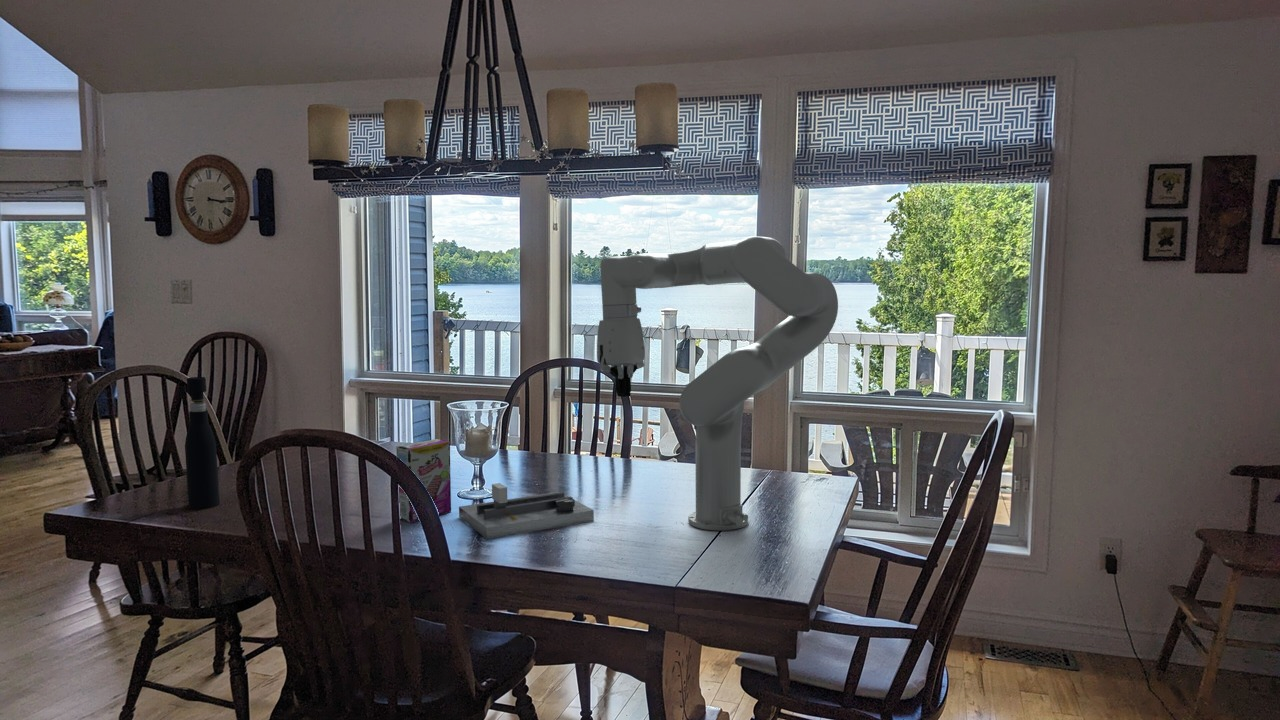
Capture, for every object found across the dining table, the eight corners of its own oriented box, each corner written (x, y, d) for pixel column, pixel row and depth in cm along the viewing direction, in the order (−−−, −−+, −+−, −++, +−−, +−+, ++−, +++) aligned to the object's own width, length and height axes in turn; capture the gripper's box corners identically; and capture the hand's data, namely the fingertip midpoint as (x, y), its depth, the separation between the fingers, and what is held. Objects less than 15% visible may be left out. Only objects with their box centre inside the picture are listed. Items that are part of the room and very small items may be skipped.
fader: (508, 513, 181) (507, 487, 180) (499, 514, 180) (498, 488, 179) (500, 508, 184) (500, 483, 184) (492, 509, 183) (491, 484, 183)
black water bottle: (206, 509, 195) (198, 379, 192) (182, 508, 196) (173, 379, 193) (225, 502, 201) (217, 376, 198) (202, 501, 203) (193, 376, 199)
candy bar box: (411, 524, 182) (408, 448, 181) (397, 519, 186) (394, 445, 184) (453, 512, 191) (450, 440, 189) (439, 508, 194) (436, 437, 193)
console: (593, 520, 183) (593, 500, 183) (487, 539, 171) (486, 517, 171) (559, 501, 199) (558, 482, 198) (459, 517, 187) (458, 497, 187)
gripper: (639, 311, 194) (643, 391, 195) (581, 314, 186) (585, 398, 187) (657, 311, 187) (661, 394, 189) (598, 315, 179) (602, 401, 181)
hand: (623, 395), depth 188 cm, fingers closed
